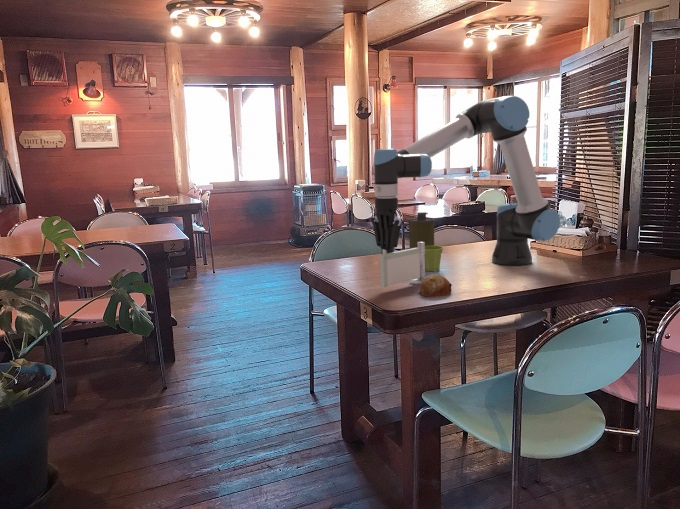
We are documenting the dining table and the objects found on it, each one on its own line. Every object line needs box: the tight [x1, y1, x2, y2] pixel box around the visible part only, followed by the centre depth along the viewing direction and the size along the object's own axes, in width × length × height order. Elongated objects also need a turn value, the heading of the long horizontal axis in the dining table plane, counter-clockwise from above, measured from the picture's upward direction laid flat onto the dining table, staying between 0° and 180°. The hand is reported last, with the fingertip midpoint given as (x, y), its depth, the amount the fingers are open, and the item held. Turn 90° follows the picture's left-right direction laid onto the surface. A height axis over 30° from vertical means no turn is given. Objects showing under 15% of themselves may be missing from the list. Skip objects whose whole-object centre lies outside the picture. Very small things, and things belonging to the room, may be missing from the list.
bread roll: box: [418, 273, 453, 298], centre depth 176 cm, size 10×10×8 cm
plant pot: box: [425, 245, 444, 272], centre depth 211 cm, size 9×9×9 cm
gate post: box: [409, 242, 426, 285], centre depth 191 cm, size 6×6×14 cm
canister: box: [408, 211, 436, 249], centre depth 227 cm, size 11×10×20 cm
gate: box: [379, 248, 420, 288], centre depth 184 cm, size 17×2×11 cm, turn 130°
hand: (387, 268), depth 185 cm, fingers closed
